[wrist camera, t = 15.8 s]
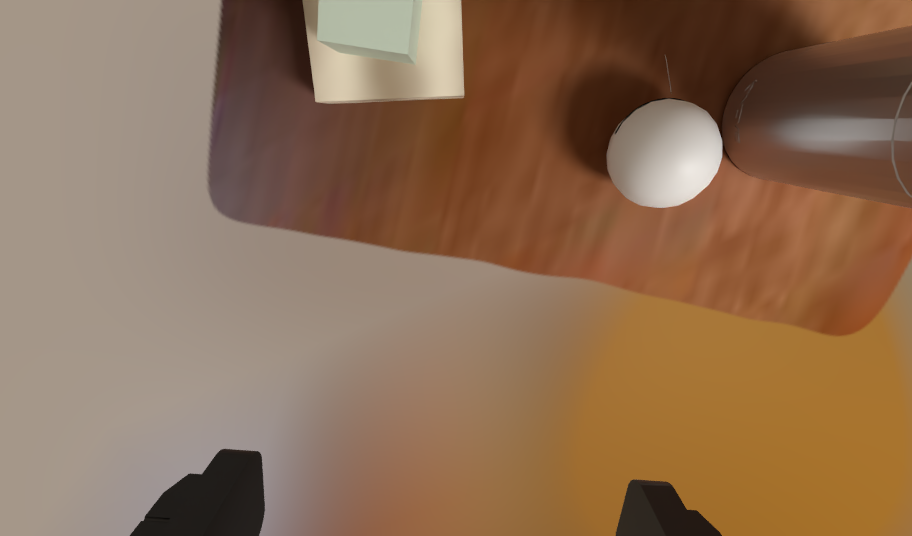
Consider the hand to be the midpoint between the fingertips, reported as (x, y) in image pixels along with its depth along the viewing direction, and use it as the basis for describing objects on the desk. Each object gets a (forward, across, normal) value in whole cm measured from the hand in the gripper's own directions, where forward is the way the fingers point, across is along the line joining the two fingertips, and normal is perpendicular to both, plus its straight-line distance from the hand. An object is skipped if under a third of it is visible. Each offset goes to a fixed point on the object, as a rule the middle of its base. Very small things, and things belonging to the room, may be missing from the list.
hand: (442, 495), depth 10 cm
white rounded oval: (+28, -14, -8) cm, 33 cm away
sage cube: (+24, +6, -14) cm, 29 cm away
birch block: (+28, +6, -14) cm, 32 cm away
